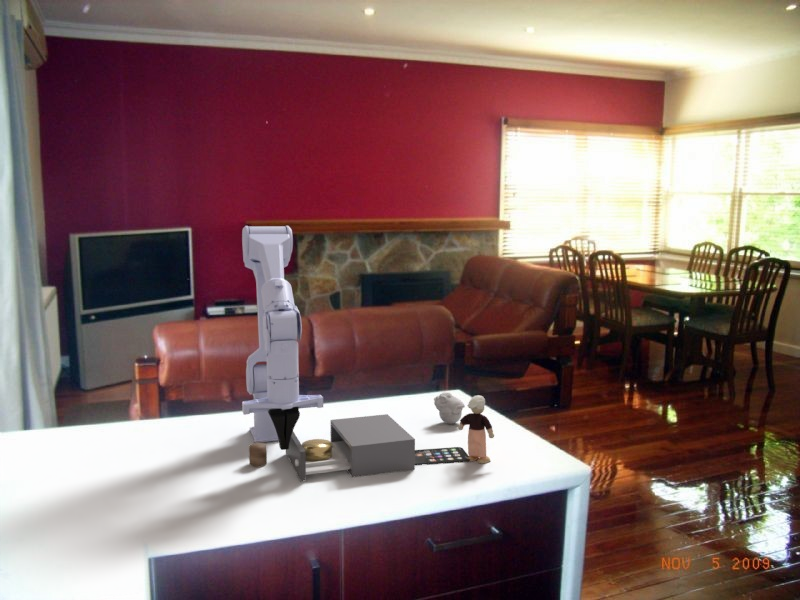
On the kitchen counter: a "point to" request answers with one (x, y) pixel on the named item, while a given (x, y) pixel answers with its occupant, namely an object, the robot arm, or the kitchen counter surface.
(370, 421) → the housing
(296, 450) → the tray
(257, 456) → the brown domed cylinder
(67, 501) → the kitchen counter surface
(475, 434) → the grandmother figurine
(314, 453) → the disc
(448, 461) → the smartphone
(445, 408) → the grey rounded lumpy piece
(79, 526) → the kitchen counter surface
